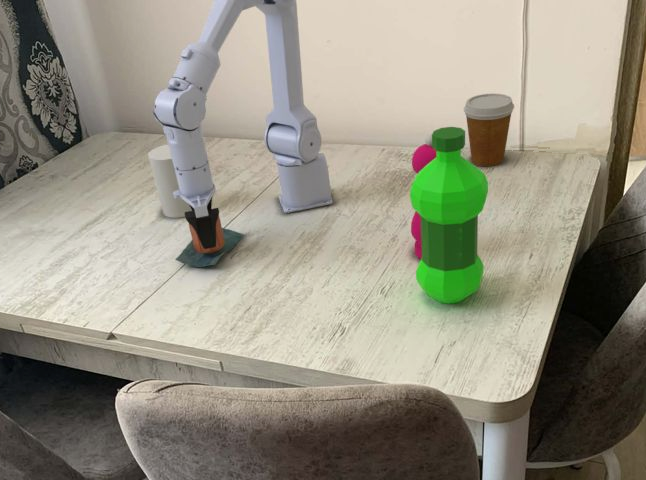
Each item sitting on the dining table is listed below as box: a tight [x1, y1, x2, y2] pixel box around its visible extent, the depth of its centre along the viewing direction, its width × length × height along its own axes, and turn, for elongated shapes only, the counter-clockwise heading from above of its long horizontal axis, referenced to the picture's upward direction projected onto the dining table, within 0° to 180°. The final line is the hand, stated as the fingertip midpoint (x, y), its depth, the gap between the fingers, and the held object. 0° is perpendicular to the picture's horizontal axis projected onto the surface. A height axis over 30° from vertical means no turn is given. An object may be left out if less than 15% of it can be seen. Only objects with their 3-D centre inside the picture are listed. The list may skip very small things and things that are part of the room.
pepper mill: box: [410, 133, 437, 260], centre depth 115 cm, size 7×7×20 cm
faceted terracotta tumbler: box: [188, 215, 225, 253], centre depth 127 cm, size 5×6×5 cm
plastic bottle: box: [409, 126, 489, 304], centre depth 103 cm, size 10×10×25 cm
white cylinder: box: [147, 143, 192, 219], centre depth 143 cm, size 8×8×12 cm
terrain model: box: [174, 227, 244, 268], centre depth 130 cm, size 13×8×2 cm, turn 161°
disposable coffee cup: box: [463, 93, 515, 167], centre depth 144 cm, size 10×10×12 cm
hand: (208, 237), depth 128 cm, fingers open, 7 cm apart
